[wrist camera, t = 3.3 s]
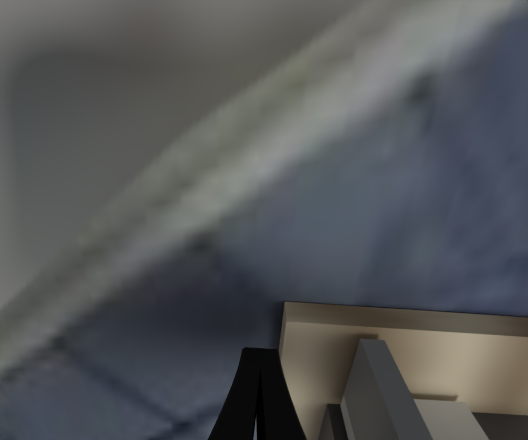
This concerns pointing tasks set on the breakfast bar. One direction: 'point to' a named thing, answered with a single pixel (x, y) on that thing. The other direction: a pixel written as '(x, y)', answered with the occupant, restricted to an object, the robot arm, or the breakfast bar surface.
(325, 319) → the board
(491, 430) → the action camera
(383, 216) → the breakfast bar surface
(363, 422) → the door
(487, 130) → the breakfast bar surface
